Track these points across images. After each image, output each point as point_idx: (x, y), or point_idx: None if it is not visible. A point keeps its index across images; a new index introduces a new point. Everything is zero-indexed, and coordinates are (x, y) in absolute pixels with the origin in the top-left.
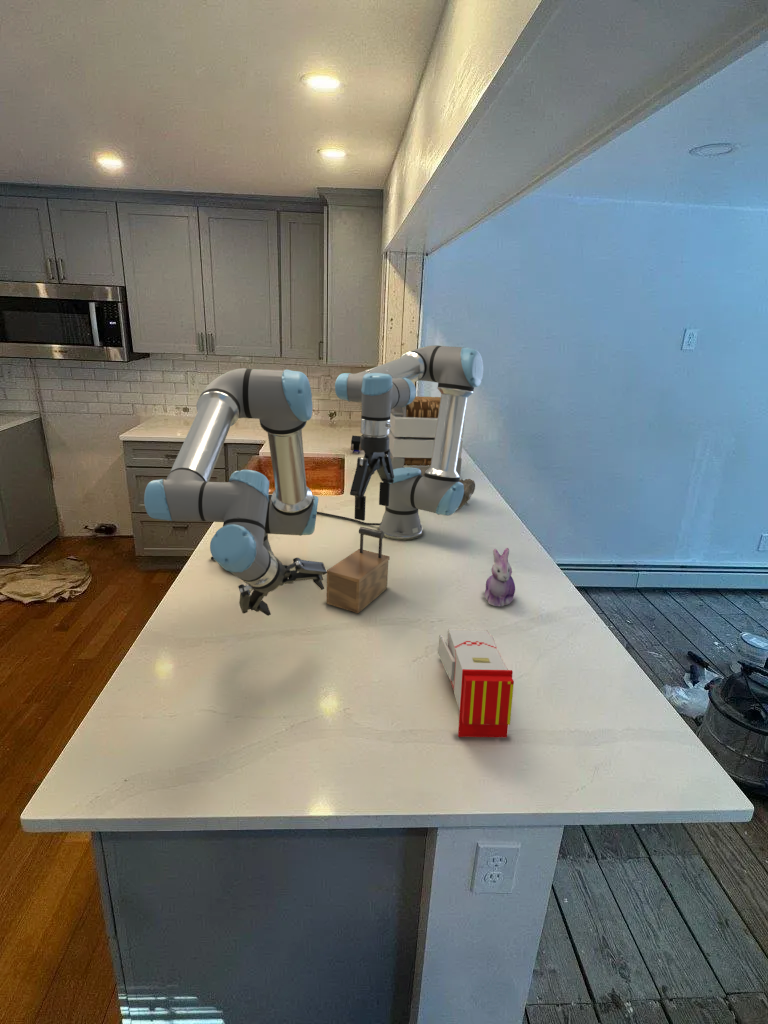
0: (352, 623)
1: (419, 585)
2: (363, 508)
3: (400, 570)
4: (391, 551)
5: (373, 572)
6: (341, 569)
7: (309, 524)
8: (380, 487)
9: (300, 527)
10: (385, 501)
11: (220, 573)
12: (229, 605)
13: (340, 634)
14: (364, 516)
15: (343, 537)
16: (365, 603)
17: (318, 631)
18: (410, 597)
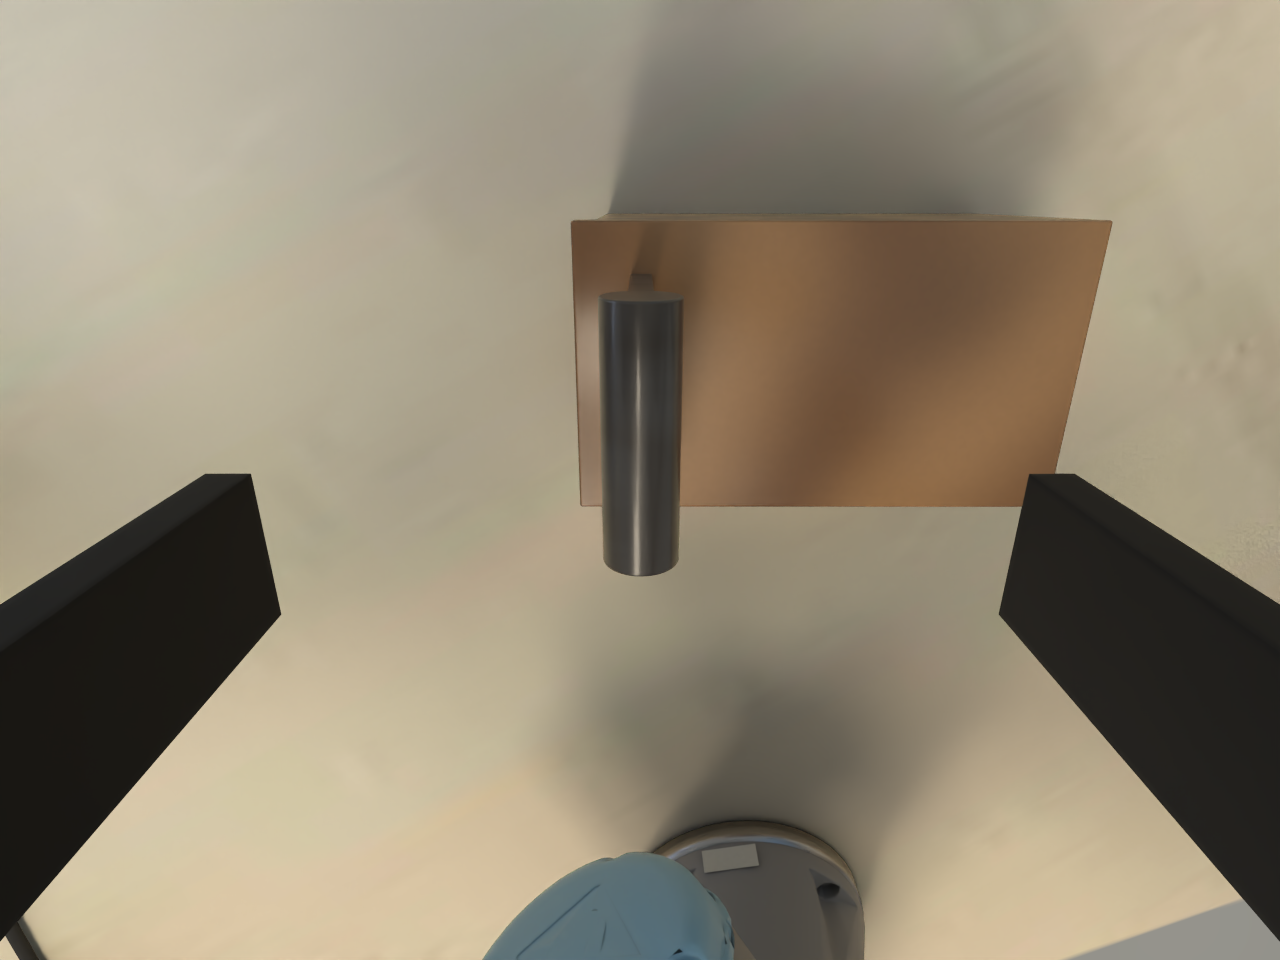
0: (1092, 185)
1: (433, 29)
2: (1233, 582)
3: (323, 261)
4: (126, 444)
5: (860, 219)
6: (994, 429)
7: (721, 926)
8: (59, 846)
9: (741, 943)
10: (215, 548)
11: (876, 932)
12: (1120, 759)
13: (1228, 182)
14: (1081, 499)
15: (186, 751)
16: (900, 214)
17: (1229, 305)
18: (629, 5)
